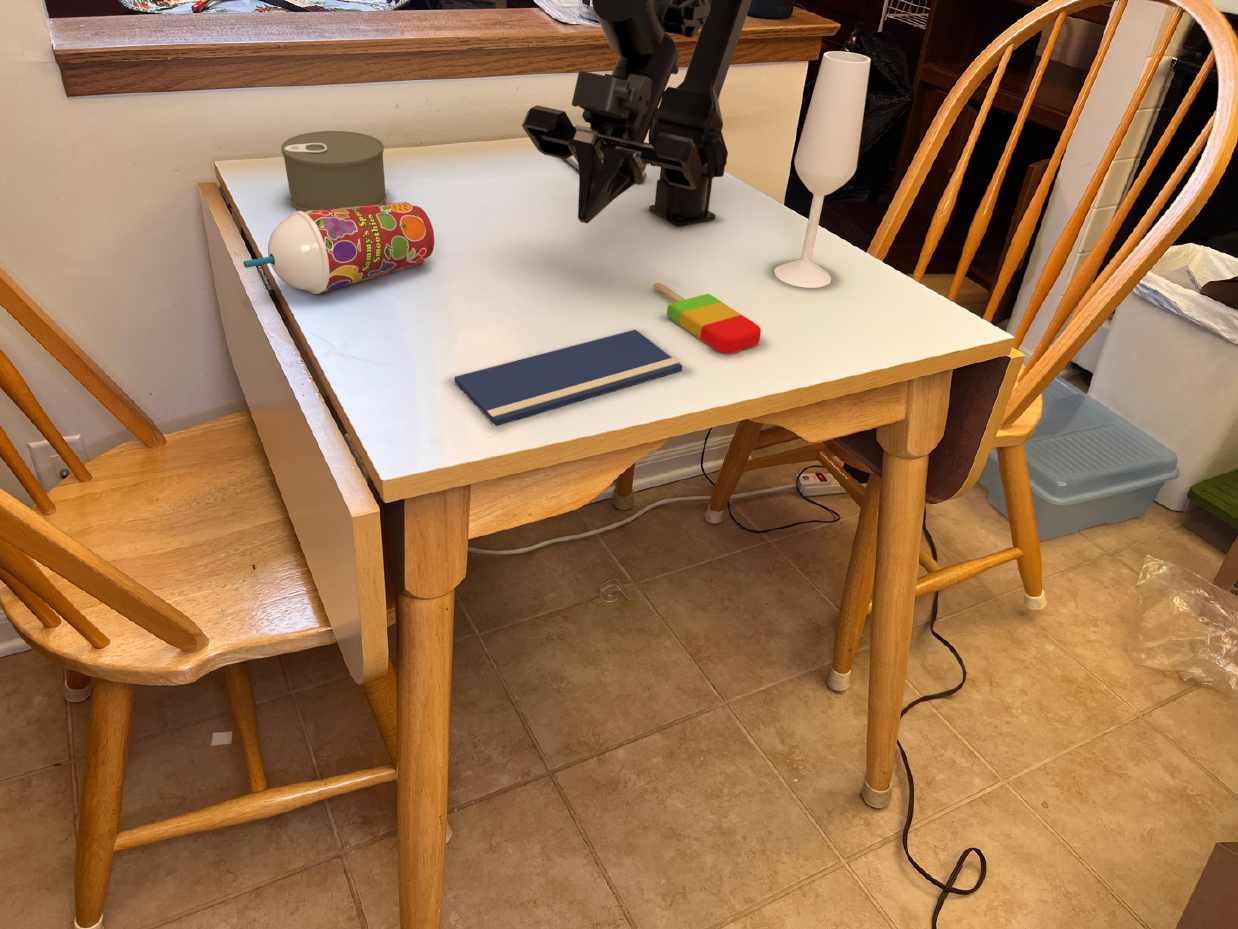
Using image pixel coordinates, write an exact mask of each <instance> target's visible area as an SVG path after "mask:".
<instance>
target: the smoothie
mask: <svg viewBox="0 0 1238 929" xmlns="http://www.w3.org/2000/svg"><path fill="white" fill-rule="evenodd" d="M434 247H435V233H434V228H433V225H432V222H431V219H430V217H429V216H428V214H427V213H426V211H425V210H424V209H423V208H422V207H420V206H419V205H412V204H411V203H409V202H406V201H404V202H403V201H402V202H393V203H391V202H390V203H385V204H379V205H368V206H356V207H345V208H334V209H322V210H311V211H298V210H295V211H292V212H291V213H290V214H289V215H288V216H287V217H286V218H285V219H283V220H282V221H280V223H279V224H278V225H277V226H276V227H275V228H274V229H273V231H272V232H271V234H270V237H269V240H268V243H267V256H265V257H260V258H254V259H249V260H244V261H243V267H244V268H245V269H246V268H247V269H248V268H253V267H257V266H264V265H268V264H270V266H271V268H272V270H273V272H274V273H275V274H276V276H277V277H278V278H279V279H280V280H281V281H282V282H284V283H285V284H287V285H288V286H290V287H292V288H295V289H297V290H301V291H306V292H309V293H310V294H312V295H321V294H322V293H323V292H328V291H332V290H336V289H339V288H343V287H346V286H350V285H352V284H356V283H360V282H363V281H366V280H370V279H374V278H377V277H382V276H384V275H387V274H391V273H395V272H398V271H402V270H406V269H409V268H412V267H415V266H420V265H421V264H422V263H423V262H424V261H425V260H426V259H428V258H429V257H431V255H432V254H433V251H434Z"/></svg>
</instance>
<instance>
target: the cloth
mask: <svg viewBox="0 0 1238 929" xmlns="http://www.w3.org/2000/svg"><path fill="white" fill-rule="evenodd" d="M681 371H683V364H681V362H680V361H679V360H678V359H676V358H675V357H672V356H671V355H670V354H668V353H667V352H665V351H664V349H662V348H661V347H659V346H658V345H656V343H654V342H653V341H651V340H650V339H649V338H647V337H646V336H645V335H643V334H642V333H641V332H639V331H638V330H637V329H632V330H629V331H624V332H620V333H617V334H612V335H609V336H605V337H602V338H597V339H593V340H590V341H586V342H583V343H579V344H575V345H571V346H567V347H563V348H560V349H555V350H552V351H547V352H544V353H540V354H536V355H533V356H529V357H525V358H521V359H516V360H513V361H509V362H505V363H502V364H498V365H494V366H490V367H486V368H482V369H479V370H475V371H471V372H468V373H463V374H460V375H456V376H454V383H455V384H456V385H457V386H458V387H459V388H460V390H462V392H463V393H464V394H465V395H466V396H467V397H468V398H469V399H470V400H471V401H472V403H474V404H475V406H476V407H477V408H478V409H479V410H480V411H481V412H482V413H483V414H484V415H485V416H486V417H487V418H488V420H489V421H490V422H491V423H492V424H493V425H494V426H499V425H502V424H503V425H504V424H506V423H509V422H513V421H517V420H519V419H523V418H526V417H529V416H534V415H536V414H539V413H543V412H547V411H551V410H553V409H556V408H560V407H564V406H566V405H570V404H574V403H577V402H580V401H584V400H587V399H590V398H594V397H598V396H600V395H603V394H608V393H611V392H614V391H617V390H621V389H624V388H627V387H631V386H634V385H638V384H641V383H645V382H649V381H651V380H654V379H658V378H661V377H665V376H668V375H671V374H675V373H679V372H681Z"/></svg>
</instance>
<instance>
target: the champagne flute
mask: <svg viewBox="0 0 1238 929" xmlns="http://www.w3.org/2000/svg"><path fill="white" fill-rule="evenodd" d="M871 62H872V61H871V58H870V57H869V56H867V55H864V54H860V53H856V52H849V51H841V50H840V51H839V50H836V51H835V50H833V51H832V50H831V51H827V52H824V53H823V55H822V60H821V63H820V66H819V69H818V74H817V77H816V81H815V85H814V88H813V92H812V95H811V99H810V103H809V106H808V110H807V113H806V117H805V120H804V123H803V128H802V131H801V135H800V138H799V142H798V146H797V149H796V153H795V156H794V160H793V161H794V167H795V168H794V169H795V171H796V174H797V176H798V178H799V179H800V181H801V182H802V183H803V184H804V186H805V187H806V188H807V190H808V191H809V192H810V193H812V194H813V196H812V201H811V206H810V211H809V215H808V222H807V225H806V231H805V236H804V240H803V246H802V251H801V256H800V258H799V259H798V258H797V259H796V260H792V261H789V262H786V263H783V264H779V265H778V266H777V267H776V268H774V270H773V272H774V276H775V277H776V278H777V279H778V280H780V281H781V282H783V283H785V284H787V285H790V286H794V287H799V288H805V289H815V288H816V289H817V288H822V287H826V286H828V285H829V284H830V283H831V282H832V277H831V275H830V274H829V273H828V272H827V271H826V270H824V269H823V268H822V267H820V266H819V265H818V264H816V263H815V262H814V261H812V257H813V253H814V248H815V242H816V239H817V238H816V237H817V232H818V228H819V224H820V218H821V213H822V208H823V204H824V199H825V196H827V195H830V194H832V193H834V192H835V191H837V190H838V189H840V188H841V187H843V186H845V185H846V183H847V182H849V181H850V180H851V178H852V177H853V176H854V175H855V174H856V171H857V168H858V160H859V152H860V145H861V136H862V130H863V122H864V113H865V107H866V99H867V92H868V84H869V76H870V70H871V69H870V68H871Z"/></svg>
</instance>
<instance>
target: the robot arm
mask: <svg viewBox="0 0 1238 929" xmlns="http://www.w3.org/2000/svg"><path fill="white" fill-rule="evenodd" d="M752 1H753V0H591V4H592V8H593V11H594V13H595V16H596V18H597V21H598V23H599V24H600V27H601V29H602V31H603V34H604V36H605V39H606V41H607V42H608V45H609V47H610V48H611V50H612V52H614V53H615V54H616V55H617V56H618V58H617V60H616V62H615V65H614V67H613V70H612V72H611V74H608V73H604V74H599V73H593V72H588V71H583V70H579V71H578V74H577V77H576V83H575V87H574V91H573V96H572V100H571V106H573V107H574V108H575V107H576V108H577V107H578V108H580V109H582V110H583V112H582V114H581V117H582V119H583V120H584V122H585V123H587V124H589V127H588V126H584V125H581V124H576V125H575V126H574V125H573V123H572V121H571V119H570V117H569V116H568V114H567V112H566V111H565V110H561V109H556V108H551V107H546V106H542V105H538V104H537V105H535V106H532V107H531V108H529V110H527V112H526V114H525V117H524V119H523V122H522V123H521V127H522V129H523V130H524V132H525V133H526V135H527V136H528V138H529V139H530V141H531V142H532V144H533V146H534V147H535V148H536V150H537V151H538V152H539V153H540V154H543V155H545V156H548V157H553V158H556V159H561V160H565V159H567V158H569V157H571V156H574V157H575V159H576V161H577V162H578V165H579V170H578V176H579V179H578V180H579V181H578V182H579V183H578V205H577V219H578V220H579V222H580V223H584V224H589V223H590V222H591V221H592V220H593V219H595V218H596V216H598V215H599V214H600V213H601V212H602V211H603V210H604V209H606V207H607V206H609V205H610V203H612V202H613V201H614V200H615V199H617V198H618V197H619V196H621V195H622V194H623V193H625V192H626V191H627V190H629V189H630V188H632V187H633V186H634V185H643V184H644V182H645V179H644V178H643V173H644V172H646V168H647V166H649V165H650V166H651V167H658V168H660V169H659V179H657V181H656V186H655V199H654V204H652V205H651V204H650V205H649V206H648V207H649V208H648V210H649V211H651V212H652V213H653V214H656V215H657V216H659V217H661V218H662V219H664V220H665V221H667V222H669V223H670V224H672V225H674V226H675V227H682V226H687V225H693V224H698V223H703V222H706V221H707V222H708V221H711V220H716V217H717V215H716V214H715V213H714V212H711V211H710V209H709V208H710V202H711V201H710V200H711V194H712V186H713V179H714V178H723V176H725V169H726V165H727V163H728V160H727V159H728V156H729V152H728V148H727V145H726V142H725V139H724V135H723V132H722V131H723V127H724V121H723V116H722V112H721V106H720V102H719V99H720V95H721V92H722V89H723V86H724V83H725V80H726V78H727V75H728V71H729V69H730V65H731V63H732V60H733V57H734V54H735V50H736V48H737V45H738V42H739V39H740V36H741V33H742V31H743V28H744V25H745V21H746V19H747V16H748V13H749V10H750V7H751V4H752ZM699 30H700V32H699ZM698 32H699V34H698V36H697V40H696V42H695V46H694V48H693V51H692V55H691V58H690V61H689V64H688V67H687V69H686V72H685V75H684V78H683V80H682V82H681V83H680V84H679V85H678V86H676V87H673V86H667V85H668V82H669V80H670V77H671V76H672V75H677V74H678V73H679V68H680V65H679V64H680V63H679V59H678V58H679V52H678V48H677V45H676V43H675V41H674V39H673V38H672V37H671V36H677V37H683V38H688V39H689V38H690V39H691V38H693V37H694V36H696V34H697V33H698ZM670 35H671V36H670ZM647 136H648V142H645V141H646V138H647ZM602 161H603V163H602Z"/></svg>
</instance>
